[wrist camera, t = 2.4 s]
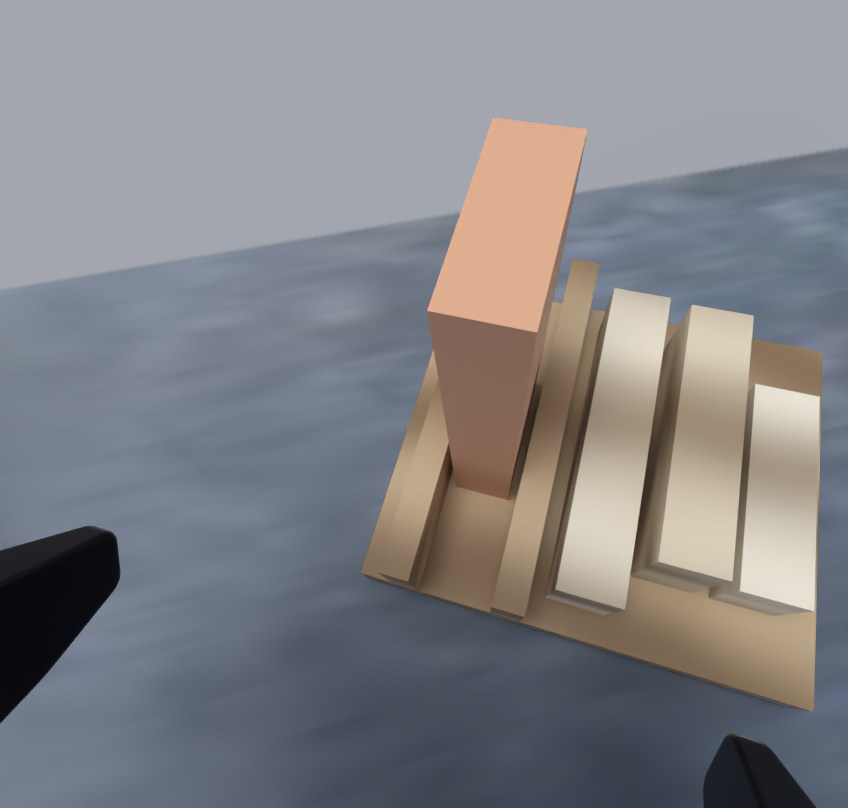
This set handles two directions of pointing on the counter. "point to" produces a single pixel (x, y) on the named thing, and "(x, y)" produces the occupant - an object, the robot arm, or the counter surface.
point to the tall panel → (501, 295)
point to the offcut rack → (635, 497)
